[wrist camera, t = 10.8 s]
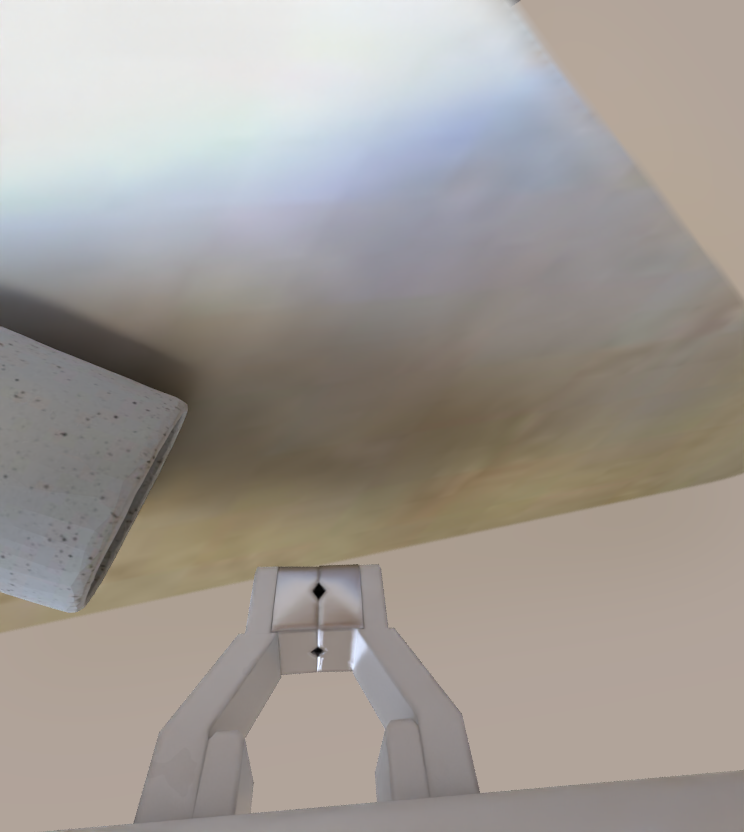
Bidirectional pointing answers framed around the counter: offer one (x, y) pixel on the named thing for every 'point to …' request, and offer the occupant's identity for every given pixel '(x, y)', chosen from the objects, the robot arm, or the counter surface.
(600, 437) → the counter surface
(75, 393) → the ceramic mug
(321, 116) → the counter surface
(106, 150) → the counter surface
